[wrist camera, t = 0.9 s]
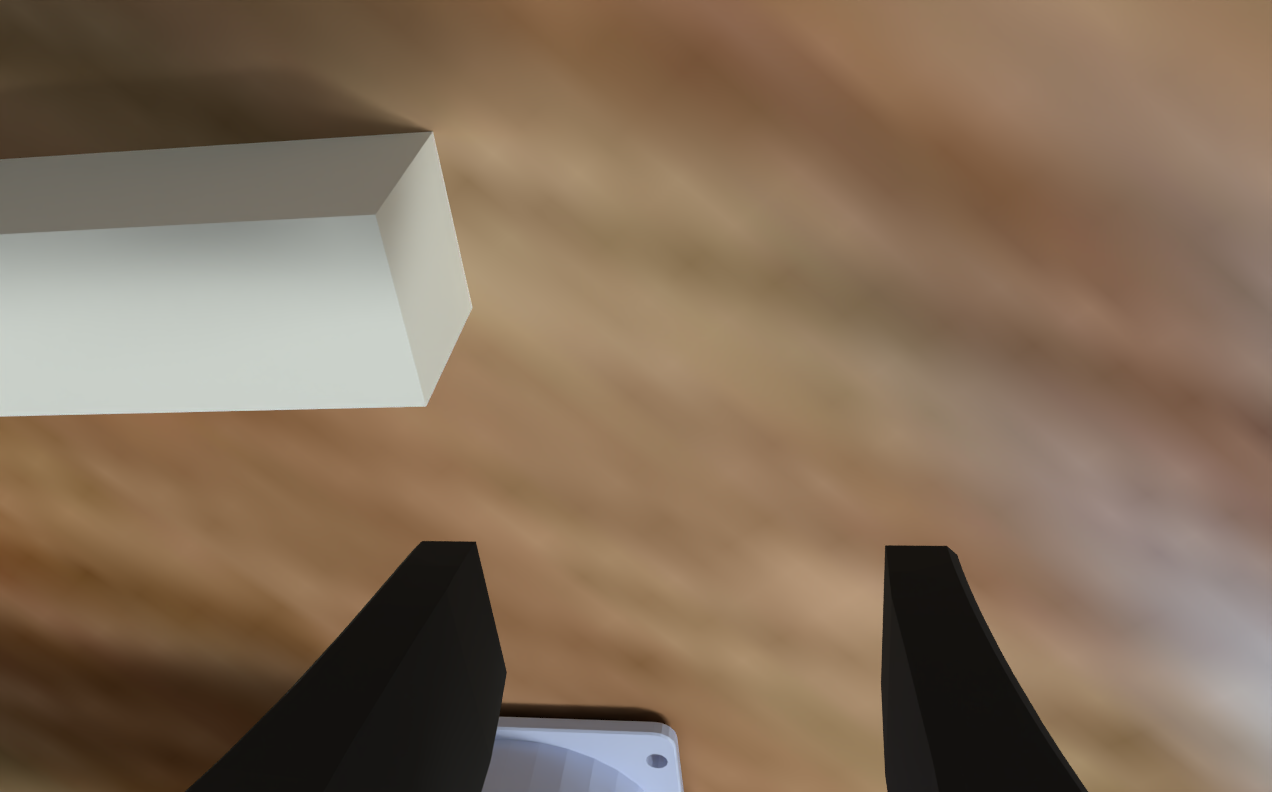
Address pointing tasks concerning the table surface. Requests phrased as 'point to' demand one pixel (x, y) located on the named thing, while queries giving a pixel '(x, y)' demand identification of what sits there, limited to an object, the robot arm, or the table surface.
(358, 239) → the gray rectangular block
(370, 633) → the robot arm
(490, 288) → the table surface
